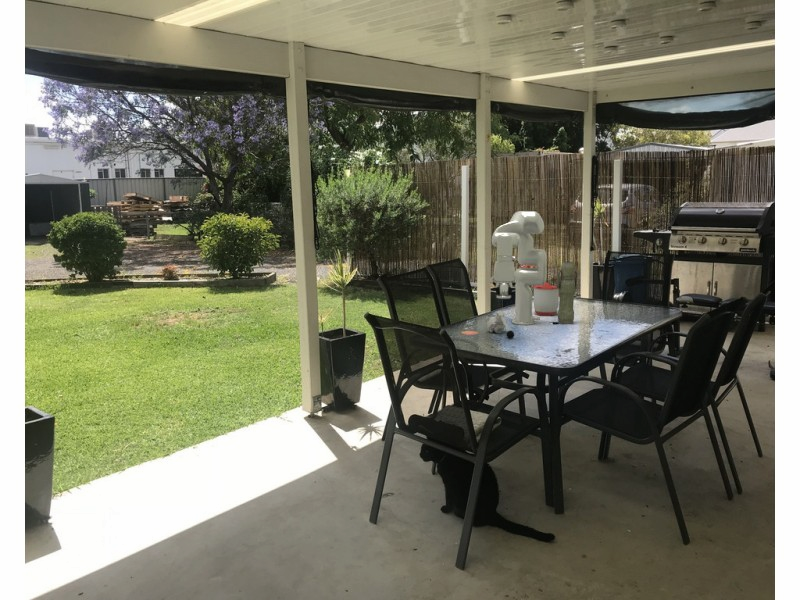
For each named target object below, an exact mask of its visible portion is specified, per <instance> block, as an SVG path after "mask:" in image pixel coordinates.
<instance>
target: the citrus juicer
mask: <svg viewBox="0 0 800 600" xmlns="http://www.w3.org/2000/svg"><path fill="white" fill-rule="evenodd" d="M559 296H560V294H559V289H557V285H551V284H550V283H549V282H547V281H545V284H544V285H533V297H532V305H533V308H534V312H535V314H536V315H538V316H540V315H543V316H545V317H546V316H548V315H553V316H555V315H556V313H557V312H558V309H559Z"/></svg>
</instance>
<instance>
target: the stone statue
mask: <svg viewBox="0 0 800 600" xmlns="http://www.w3.org/2000/svg"><path fill="white" fill-rule="evenodd" d="M578 280H579V272H578V271H577V270H576V267H575V263H574V262H573V261H563V262H562V263H561V265H560V269H559V270H557V273H556V286H557V289H559V294H560V295H559V303H558V309H557V324H559V325H564V324H571V325H573V324H574V319H575V310H574V302H575V301H574V298H575V293H576V289H577V288H578V286H579V285H578V282H579V281H578Z"/></svg>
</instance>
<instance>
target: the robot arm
mask: <svg viewBox="0 0 800 600" xmlns="http://www.w3.org/2000/svg"><path fill="white" fill-rule="evenodd" d="M544 228H545V223H544V220H543V218H542V216H541V214H539V213H538V211H534V210H533V211H531V210H524V211H523V210H521V211H515V212H514V213H513V215H512V216H511V218H510V220H509V222H507V223H504V224H502V225H500V226H498V227H497V228H496V229H495V230H494V232H493V233H492V237H491V243H492V246H493V247H495V248H497V249H496V261H494V269H493V275H492V276H490V278H489V283H491V284H492V285H493V286H494V287H495V294H497V295H499V282H509V296H510V295H511V296H512V294H513V287H514V286H515V301H514V302H515V305H514V306H515V307H514V308H515V309H514V319H512V321H511V323H512V324H515V325H521V326H522V325H523V326H528V325H529V326H530V325H533V324H535V322H536V321H541V316H534V315H533V297H534V292H533V290H532V289H531V287H530V286H540V285H544V284H545V283H546V282H547V280H546V279H547V262H548V261H547V253H546V250H545V249H540V248H534V238H533V236H532V234H533V235H540V234H542V233H543V232H544ZM515 248H517V262H518V264H519V265H521V266H527V267H520V268H517V269H516V270H515V262H514V261H513V260H516V256H513V249H515ZM529 266H530V267H529ZM534 267H537V268H534ZM497 295H496V296H497Z"/></svg>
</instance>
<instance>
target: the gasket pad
mask: <svg viewBox="0 0 800 600" xmlns="http://www.w3.org/2000/svg"><path fill="white" fill-rule="evenodd" d="M460 334H462V335H464V336H476V335H478V334H479V332H478V331H474V330H463V331H461V332H460Z"/></svg>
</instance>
